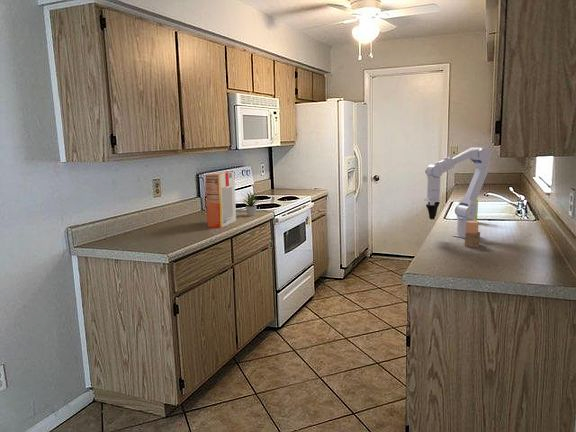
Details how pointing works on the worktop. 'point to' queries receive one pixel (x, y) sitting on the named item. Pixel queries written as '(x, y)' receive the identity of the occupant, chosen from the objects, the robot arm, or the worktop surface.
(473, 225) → the terracotta block
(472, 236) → the tower top
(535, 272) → the worktop surface
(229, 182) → the pasta box
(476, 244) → the tower base
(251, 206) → the house plant
